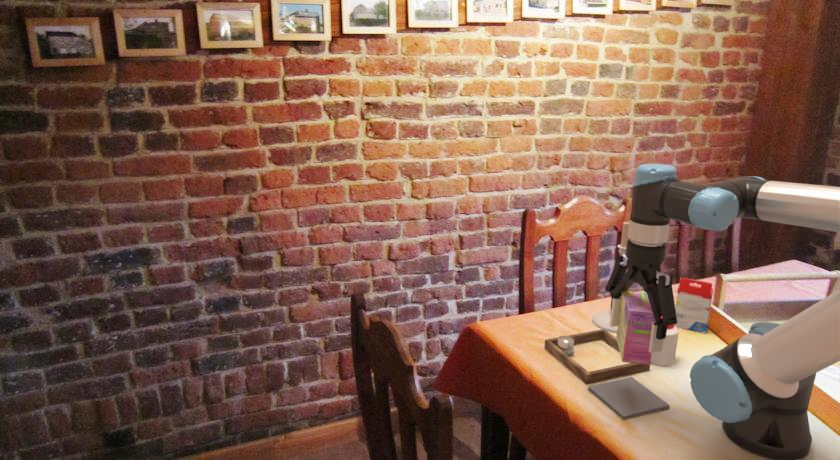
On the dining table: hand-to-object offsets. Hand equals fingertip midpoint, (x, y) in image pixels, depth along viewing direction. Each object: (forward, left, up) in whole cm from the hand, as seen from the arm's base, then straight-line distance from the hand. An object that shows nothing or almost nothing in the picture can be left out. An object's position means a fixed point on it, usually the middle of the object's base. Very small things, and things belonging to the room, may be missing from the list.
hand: (634, 337), depth 123 cm
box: (0, 0, -4) cm, 4 cm away
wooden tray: (+17, -4, -15) cm, 23 cm away
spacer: (+22, +1, -15) cm, 26 cm away
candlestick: (+32, -22, -15) cm, 42 cm away
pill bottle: (+12, -19, -15) cm, 27 cm away
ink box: (+23, -40, -15) cm, 48 cm away
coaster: (0, 0, -15) cm, 15 cm away
